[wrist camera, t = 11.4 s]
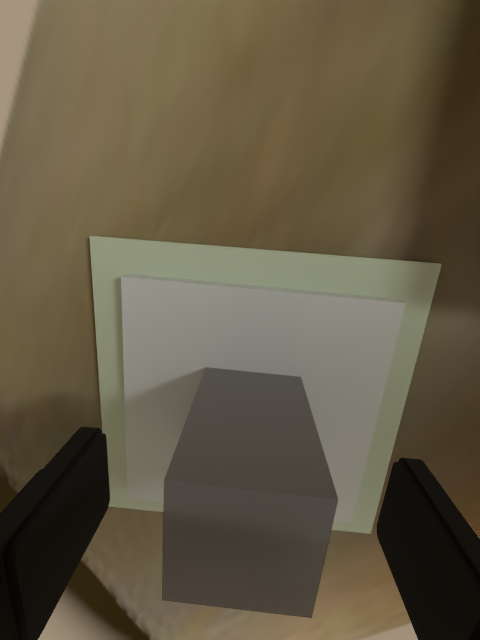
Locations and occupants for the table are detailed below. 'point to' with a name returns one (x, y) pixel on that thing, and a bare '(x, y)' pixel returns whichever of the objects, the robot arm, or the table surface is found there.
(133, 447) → the lid
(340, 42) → the table surface
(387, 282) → the mat
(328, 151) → the table surface
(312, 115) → the table surface
